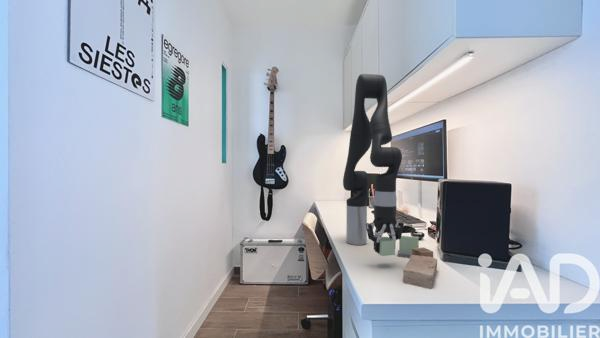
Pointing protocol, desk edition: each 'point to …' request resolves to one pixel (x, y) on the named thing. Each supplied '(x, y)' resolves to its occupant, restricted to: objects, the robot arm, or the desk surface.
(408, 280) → the brick
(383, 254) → the green block
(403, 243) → the green and grey bar
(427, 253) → the walnut block
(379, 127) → the robot arm
